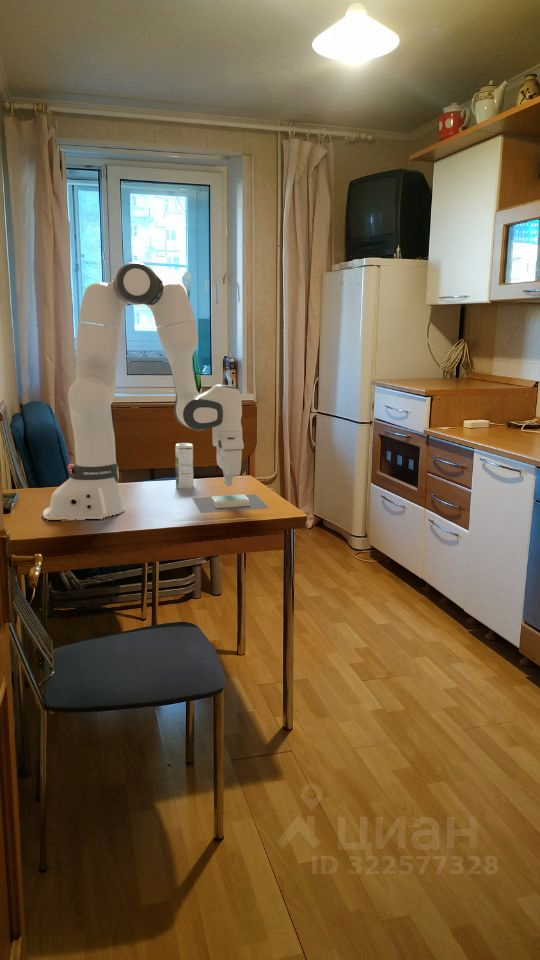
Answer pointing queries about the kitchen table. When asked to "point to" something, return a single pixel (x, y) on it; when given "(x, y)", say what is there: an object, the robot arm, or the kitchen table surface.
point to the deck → (230, 501)
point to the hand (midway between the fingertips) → (228, 485)
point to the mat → (207, 506)
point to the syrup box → (184, 465)
